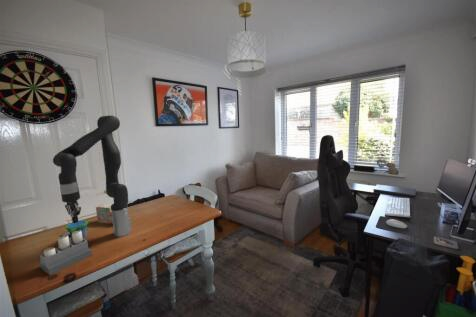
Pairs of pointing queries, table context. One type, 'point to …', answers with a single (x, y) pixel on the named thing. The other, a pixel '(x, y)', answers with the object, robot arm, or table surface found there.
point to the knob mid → (63, 243)
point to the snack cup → (78, 228)
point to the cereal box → (104, 213)
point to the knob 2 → (77, 237)
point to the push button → (67, 235)
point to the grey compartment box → (64, 257)
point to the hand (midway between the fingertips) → (75, 222)
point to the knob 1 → (49, 252)
